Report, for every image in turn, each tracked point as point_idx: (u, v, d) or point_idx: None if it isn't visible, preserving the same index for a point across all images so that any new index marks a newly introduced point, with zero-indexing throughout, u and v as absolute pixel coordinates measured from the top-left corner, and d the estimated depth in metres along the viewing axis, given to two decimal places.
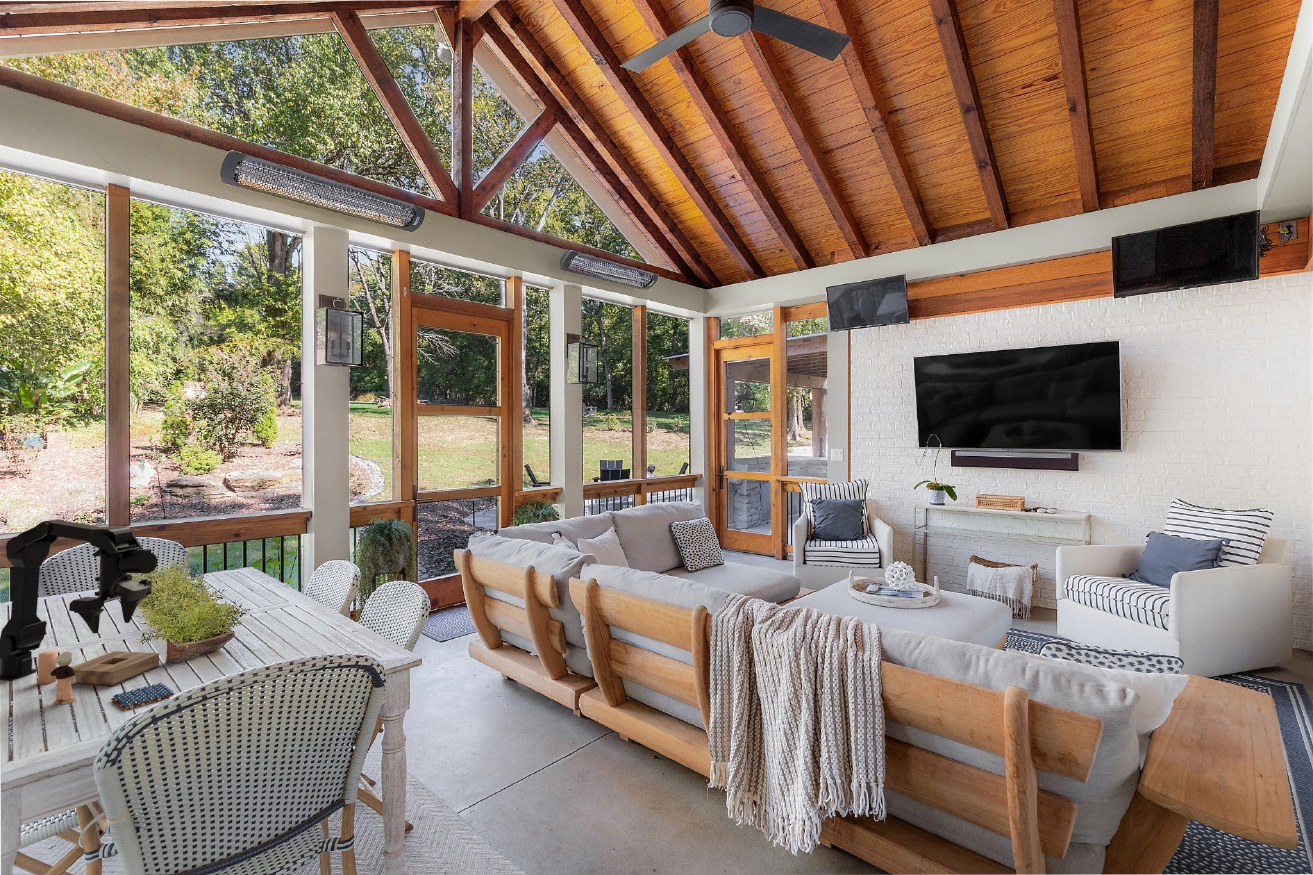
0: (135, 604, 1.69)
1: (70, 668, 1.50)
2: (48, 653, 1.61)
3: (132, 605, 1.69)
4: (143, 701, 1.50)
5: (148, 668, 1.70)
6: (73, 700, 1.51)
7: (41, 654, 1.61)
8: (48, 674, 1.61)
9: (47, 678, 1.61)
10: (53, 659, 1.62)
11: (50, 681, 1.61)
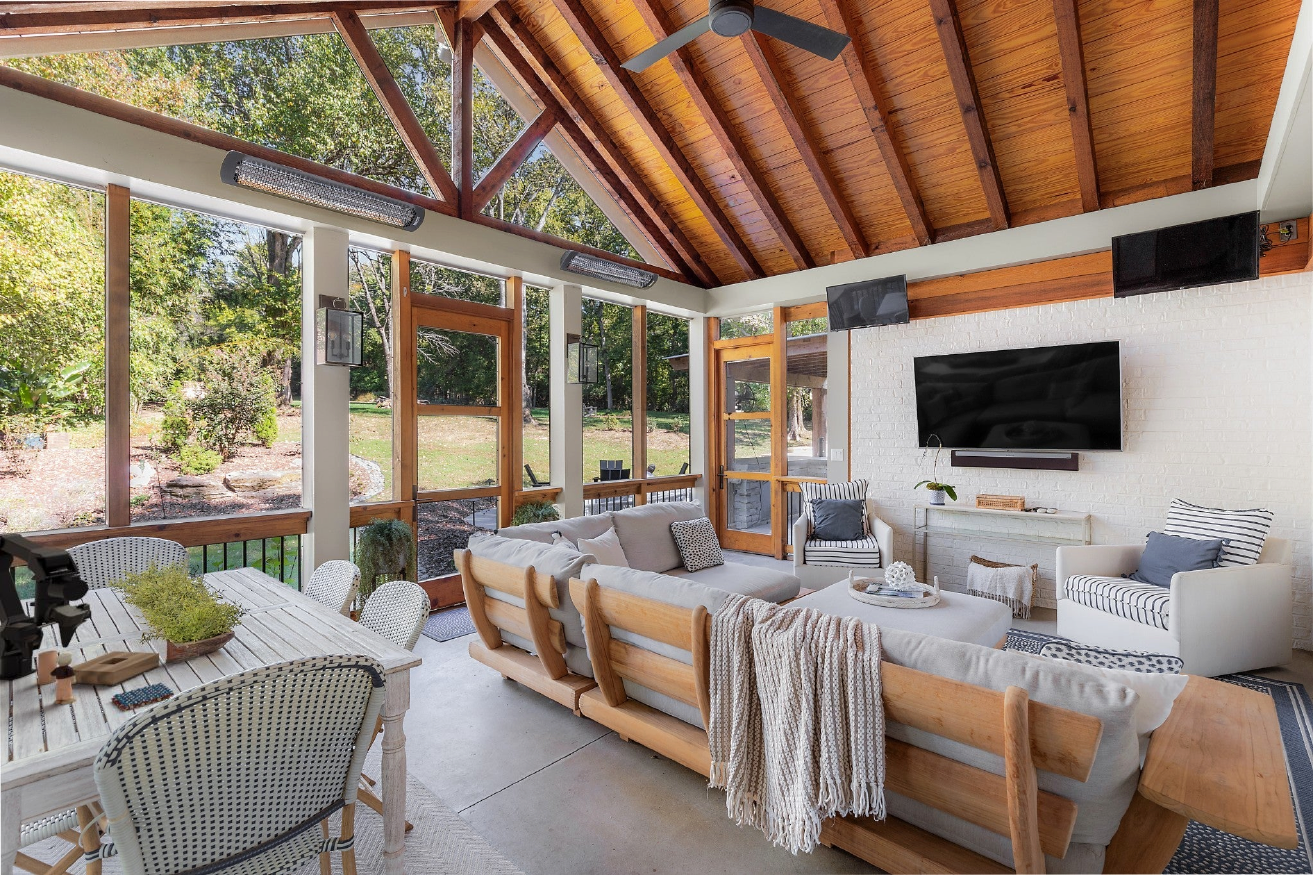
0: (73, 628, 1.67)
1: (70, 668, 1.50)
2: (48, 653, 1.61)
3: (70, 630, 1.67)
4: (143, 701, 1.50)
5: (148, 668, 1.70)
6: (73, 700, 1.51)
7: (41, 654, 1.61)
8: (48, 674, 1.61)
9: (47, 678, 1.61)
10: (53, 659, 1.62)
11: (50, 681, 1.61)
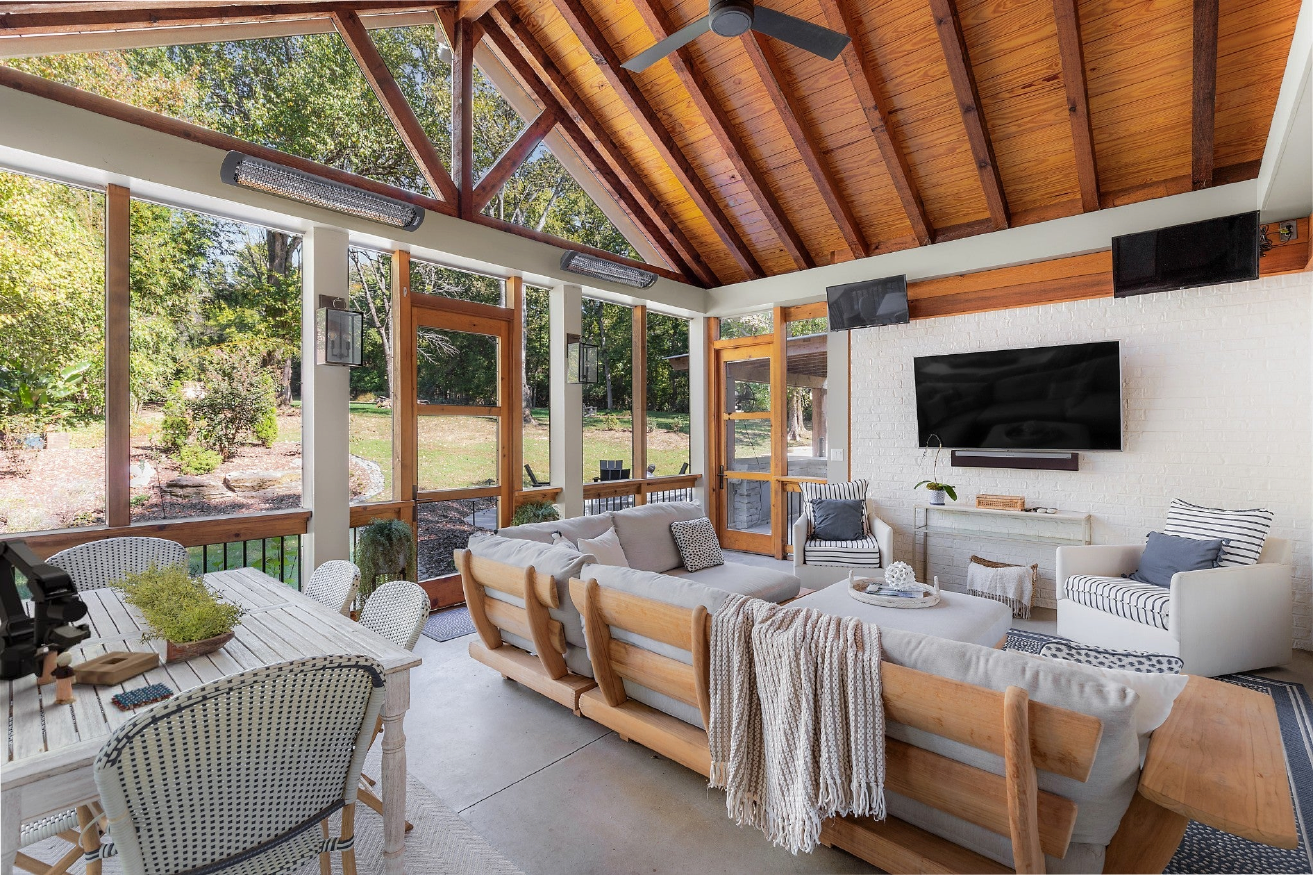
0: (63, 652, 1.64)
1: (70, 668, 1.50)
2: (48, 653, 1.61)
3: (60, 653, 1.64)
4: (143, 701, 1.50)
5: (148, 668, 1.70)
6: (73, 700, 1.51)
7: None
8: (48, 674, 1.61)
9: (47, 678, 1.61)
10: (53, 659, 1.62)
11: (50, 681, 1.61)
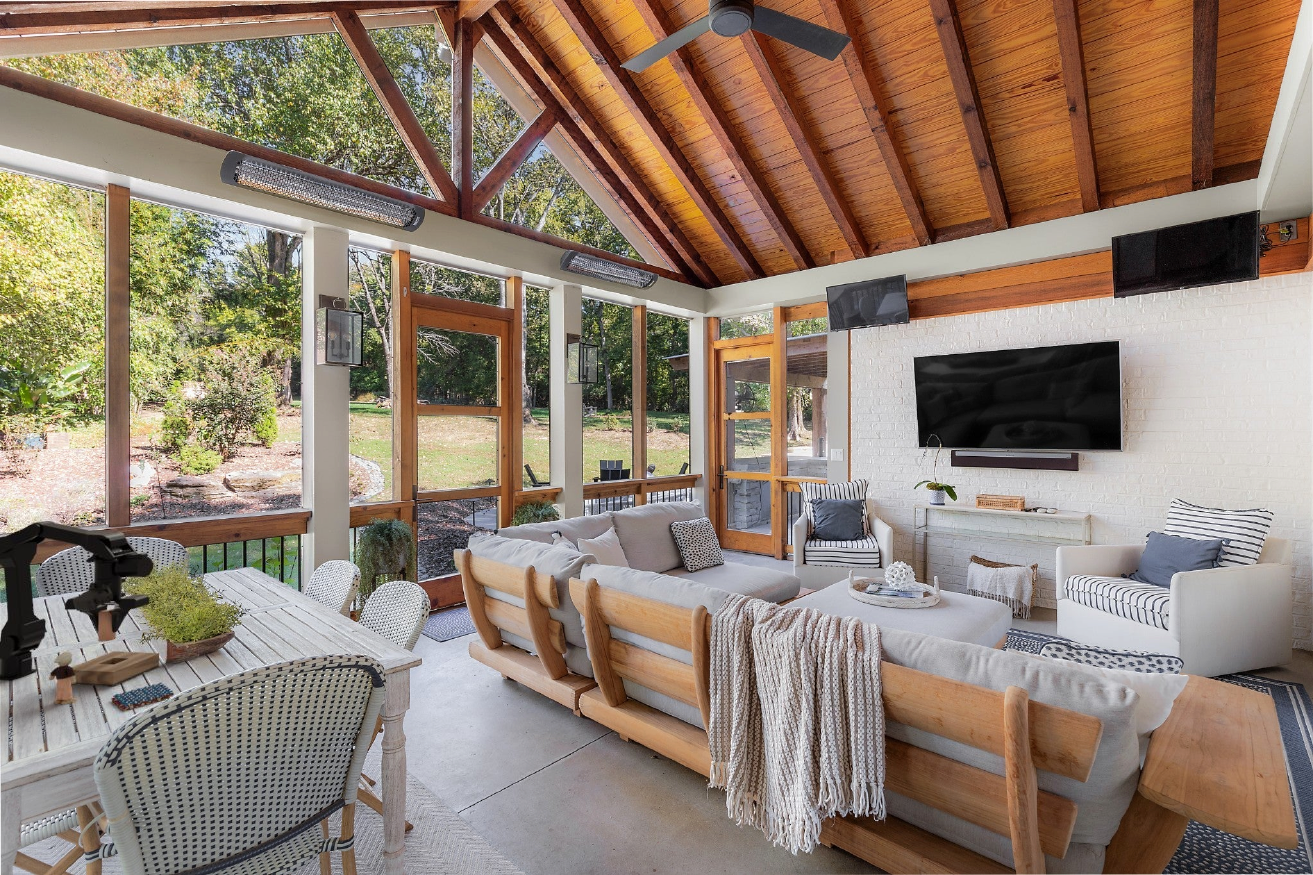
0: (113, 615, 1.65)
1: (70, 668, 1.50)
2: (104, 611, 1.66)
3: None
4: (143, 701, 1.50)
5: (148, 668, 1.70)
6: (73, 700, 1.51)
7: (105, 610, 1.67)
8: None
9: (98, 635, 1.65)
10: (101, 619, 1.65)
11: (99, 639, 1.65)
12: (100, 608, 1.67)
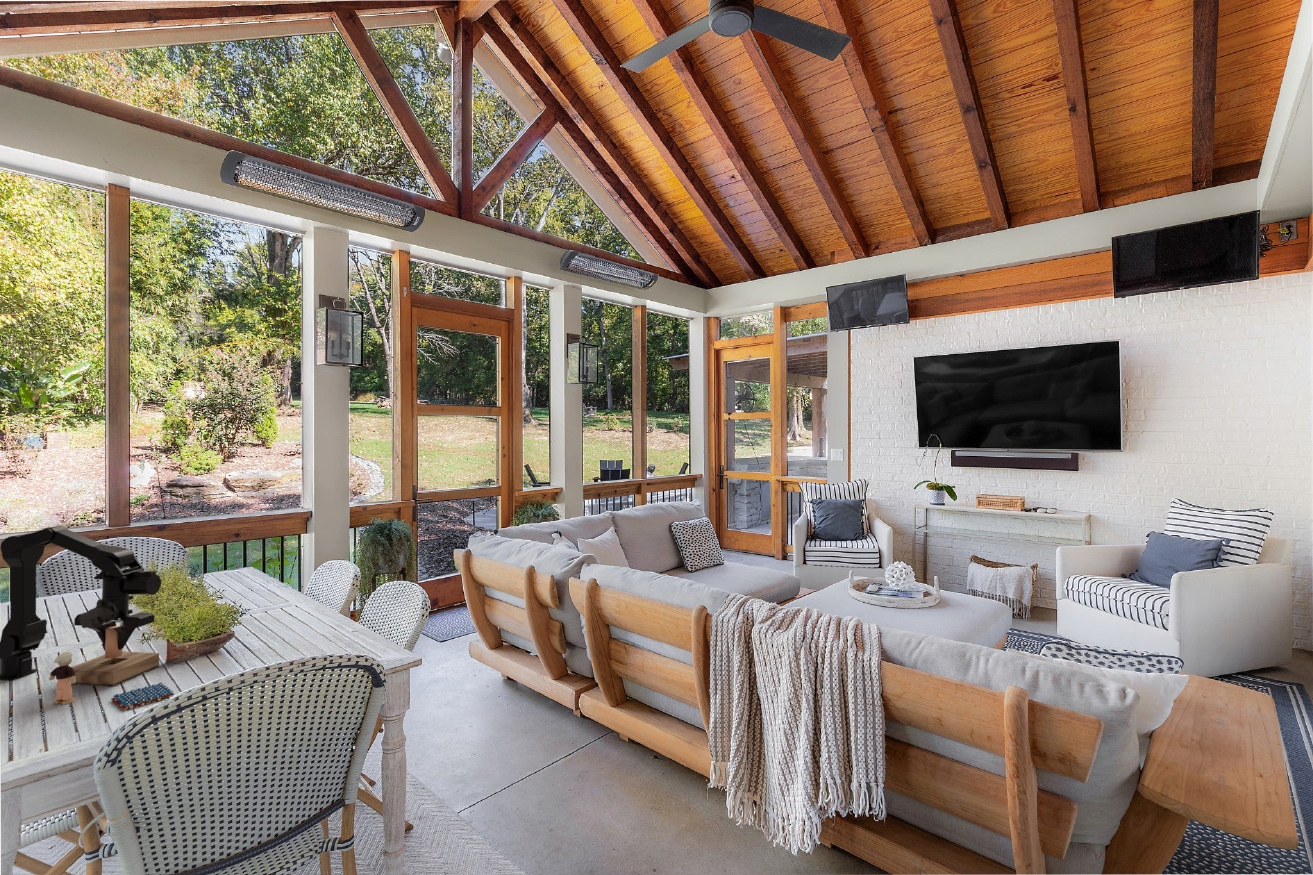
0: (119, 633, 1.66)
1: (70, 668, 1.50)
2: (111, 628, 1.67)
3: None
4: (143, 701, 1.50)
5: (148, 668, 1.70)
6: (73, 700, 1.51)
7: (113, 627, 1.68)
8: (105, 648, 1.66)
9: (105, 652, 1.66)
10: (107, 636, 1.65)
11: (105, 656, 1.65)
12: (108, 624, 1.68)
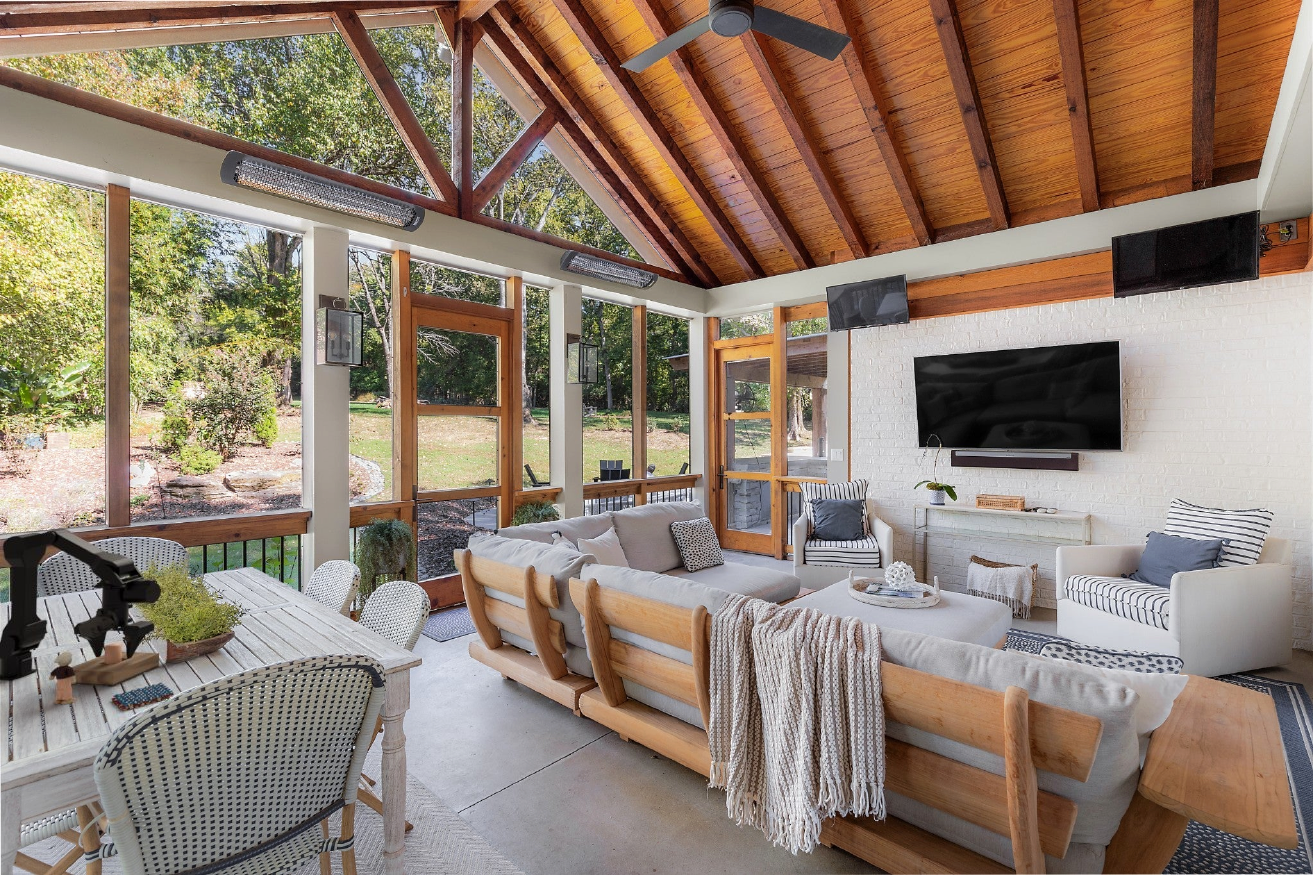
0: (127, 642, 1.65)
1: (70, 668, 1.50)
2: (110, 645, 1.67)
3: None
4: (143, 701, 1.50)
5: (148, 668, 1.70)
6: (73, 700, 1.51)
7: (112, 644, 1.68)
8: None
9: None
10: (106, 653, 1.65)
11: None
12: None
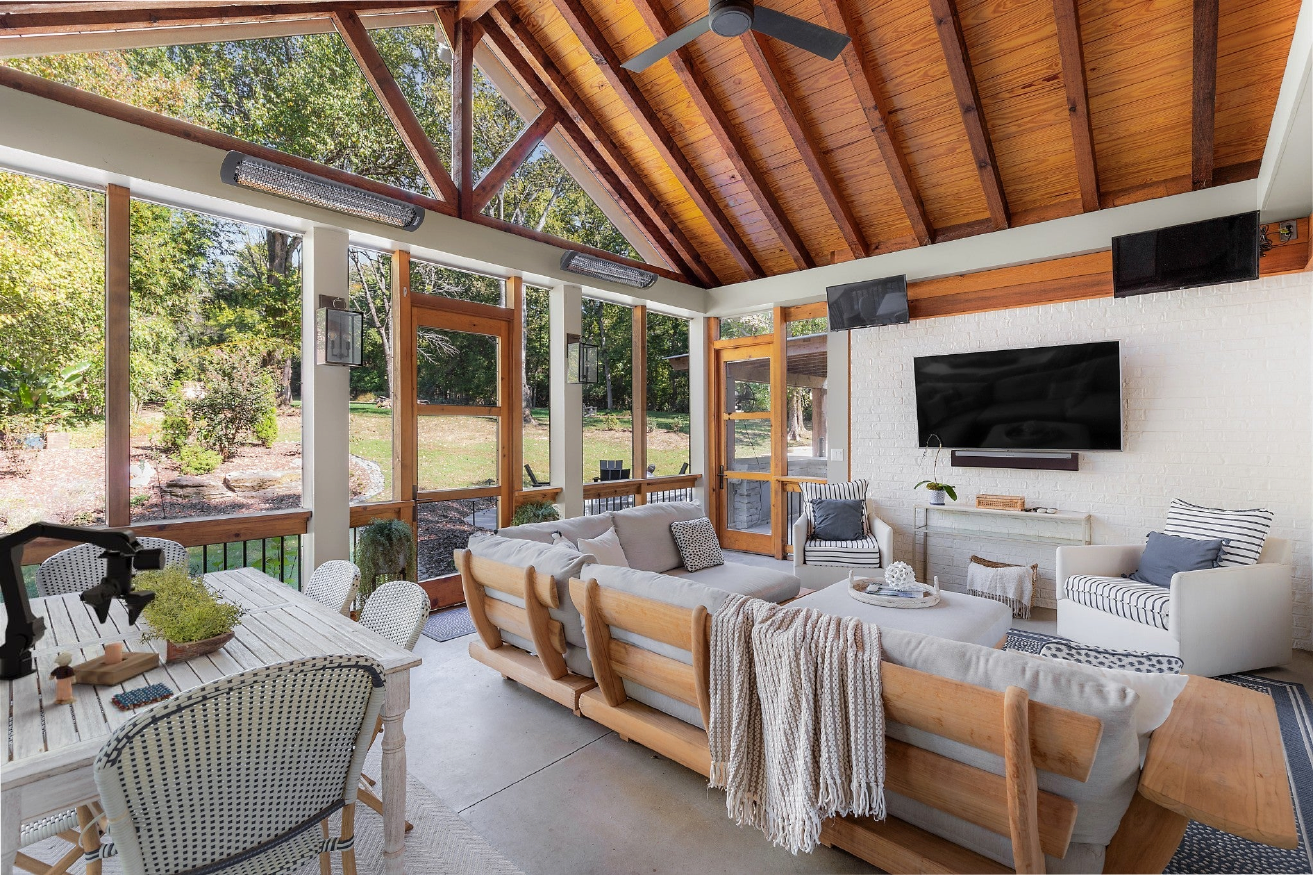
0: (129, 610, 1.73)
1: (70, 668, 1.50)
2: (110, 645, 1.66)
3: None
4: (143, 701, 1.50)
5: (148, 668, 1.70)
6: (73, 700, 1.51)
7: (112, 644, 1.68)
8: None
9: None
10: (107, 653, 1.65)
11: None
12: (104, 600, 1.76)
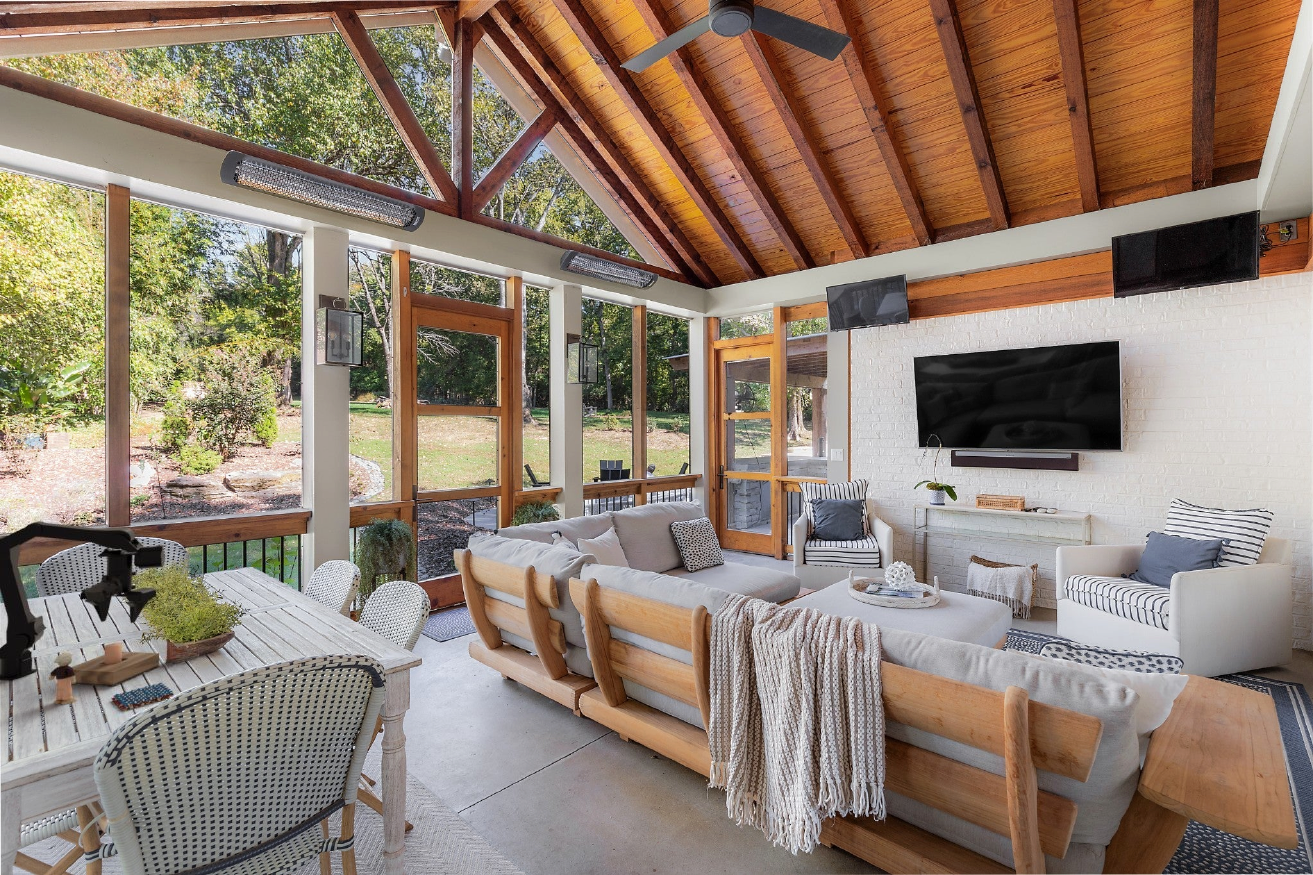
0: (131, 607, 1.75)
1: (70, 668, 1.50)
2: (110, 645, 1.66)
3: None
4: (143, 701, 1.50)
5: (148, 668, 1.70)
6: (73, 700, 1.51)
7: (112, 644, 1.68)
8: None
9: None
10: (106, 653, 1.65)
11: None
12: None
